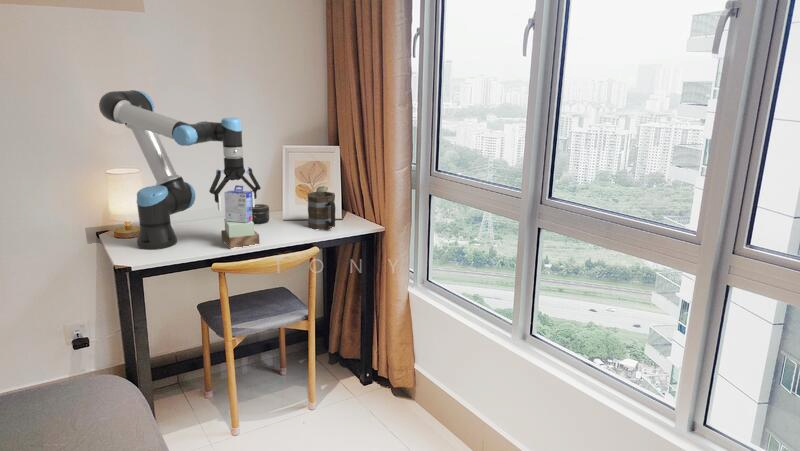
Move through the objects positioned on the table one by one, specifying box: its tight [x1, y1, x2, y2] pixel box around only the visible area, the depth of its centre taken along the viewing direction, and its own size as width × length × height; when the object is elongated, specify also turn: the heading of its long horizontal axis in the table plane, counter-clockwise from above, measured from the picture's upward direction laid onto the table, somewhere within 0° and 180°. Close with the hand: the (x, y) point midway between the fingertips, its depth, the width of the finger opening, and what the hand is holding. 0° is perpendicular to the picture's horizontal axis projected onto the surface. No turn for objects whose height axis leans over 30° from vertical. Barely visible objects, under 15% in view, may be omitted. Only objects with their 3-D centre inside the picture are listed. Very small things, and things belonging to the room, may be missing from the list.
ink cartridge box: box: [224, 184, 253, 222], centre depth 230 cm, size 10×6×14 cm, turn 79°
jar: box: [252, 203, 270, 225], centre depth 266 cm, size 10×10×8 cm
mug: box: [307, 191, 337, 230], centre depth 257 cm, size 20×14×15 cm
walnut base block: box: [220, 229, 260, 249], centre depth 234 cm, size 12×13×5 cm
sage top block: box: [223, 218, 255, 238], centre depth 233 cm, size 10×12×5 cm
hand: (236, 208), depth 231 cm, fingers open, 13 cm apart
